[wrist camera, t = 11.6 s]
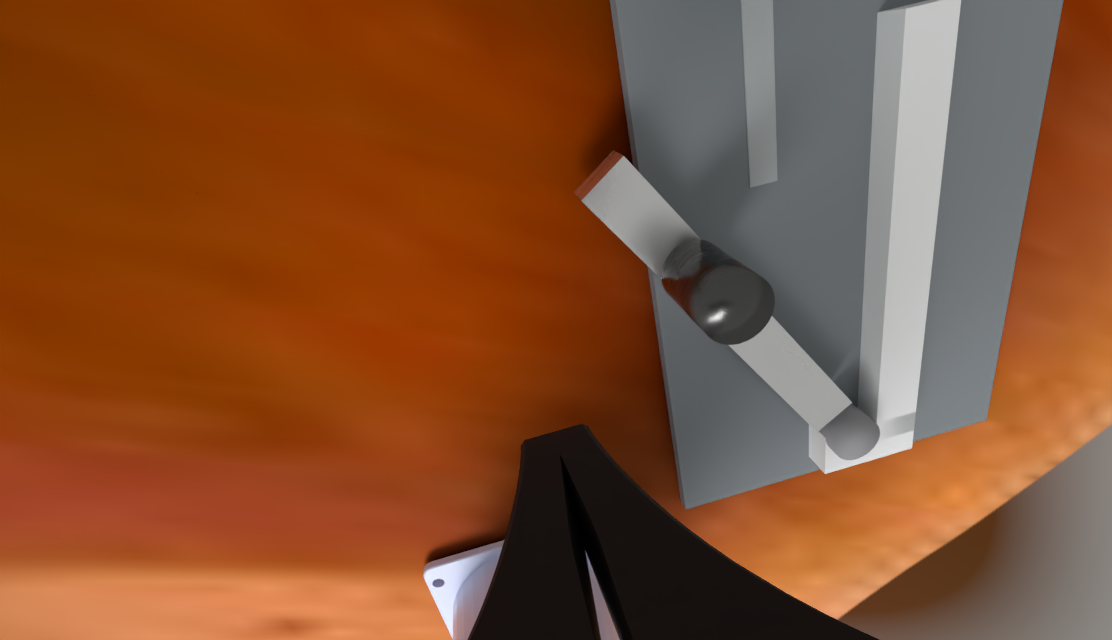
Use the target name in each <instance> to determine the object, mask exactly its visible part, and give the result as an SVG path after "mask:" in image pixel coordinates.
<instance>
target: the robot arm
mask: <svg viewBox="0 0 1112 640" xmlns="http://www.w3.org/2000/svg"><path fill="white" fill-rule="evenodd" d="M423 576H424V579H425V581H426V584H427V586H428V588H429V590H430V592H431V594H432V596H433V598H434V601H435V603H436V605H437V607H438V609H439V611H440V613H441V615H442V618H443V620H444V622H445V624H446V626H447V628H448V630H449V632H450V635H451V637H452V639H453V640H879V639H877V638H874V637H872V636H870V635H868V634H866V633H863V632H861V631H859V630H857V629H855V628H853V627H851V626H848V625H847V624H844V623H842V622H840V621H838V620H836V619H834V618H832V617H830V616H828V615H826V614H824V613H822V612H820V611H819V610H817V609H815V608H813V607H811V606H809V605H807V604H806V603H804V602H802V601H800V600H798V599H796V598H794V597H792V596H791V595H789V594H787V593H785V592H784V591H782V590H780V589H779V588H777V587H775V586H774V585H772V584H770V583H769V582H767V581H765V580H764V579H762V578H760V577H759V576H757V575H755V574H754V573H752V572H750V571H749V570H747V569H745V568H744V567H742V566H740V565H739V564H737V563H736V562H734V561H733V560H731V559H730V558H728V557H727V556H725V555H724V554H722V553H721V552H720V551H718V550H717V549H715V548H714V547H712V546H711V545H709V544H708V543H707V542H705V541H704V540H703V539H701V538H700V537H699V536H697V535H696V534H694V533H693V532H692V531H690V530H689V529H688V528H687V527H685V526H684V525H683V524H682V523H680V522H679V521H678V520H677V519H675V518H674V517H673V516H672V515H671V514H669V513H668V512H667V511H666V510H665V509H664V508H662V507H661V506H660V505H659V504H658V503H657V502H656V501H654V500H653V499H652V498H651V497H650V496H649V495H648V494H647V493H646V492H645V491H644V490H642V489H641V488H640V487H639V486H638V485H637V484H636V483H635V482H634V481H633V480H632V479H631V478H630V477H629V476H628V475H627V474H626V473H625V472H624V471H623V470H622V469H621V467H620V466H619V465H618V464H617V463H616V462H615V461H614V460H613V459H612V458H611V456H610V455H609V454H608V453H607V452H606V451H605V449H604V448H603V447H602V446H601V445H600V443H599V442H598V441H597V439H596V438H595V437H594V435H593V434H592V432H591V431H590V429H589V427H587V426H585V425H583V424H580V425H576V426H573V427H569V428H566V429H562V430H559V431H555V432H552V433H548V434H545V435H541V436H538V437H534V438H531V439H527V440H525V441H524V442H523V444H522V445H521V461H520V470H519V478H518V484H517V490H516V495H515V499H514V504H513V508H512V513H511V518H510V522H509V526H508V529H507V533H506V536H505V540H503V541H499V542H496V543H492V544H489V545H486V546H482V547H479V548H475V549H472V550H469V551H465V552H462V553H459V554H455V555H452V556H448V557H445V558H442V559H438V560H435V561H432V562H429V563H428V564H427V565H425V567H424V573H423ZM436 579H441V580H436Z"/></svg>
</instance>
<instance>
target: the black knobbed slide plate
mask: <svg viewBox="0 0 1112 640" xmlns="http://www.w3.org/2000/svg"><path fill="white" fill-rule="evenodd" d="M573 193H574V194H575V195H576V196H577V197H578V198H579V199H580V200H581V201H582V202H583V203H584V204H585V205H586V206H587V207H588V208H589V209H590V210H591V211H592V212H593V213H594V214H595V215H596V216H597V217H598V218H599V219H600V220H601V221H602V222H603V223H604V224H605V225H606V226H607V227H608V228H609V229H610V230H612V231H613V232H614V233H615V234H616V235H617V236H618V237H619V238H620V239H621V240H622V241H623V242H624V243H625V244H626V245H627V246H628V247H629V248H630V249H631V250H632V251H633V252H634V253H635V254H636V255H637V256H638V257H639V258H640V259H641V260H642V261H643V262H644V263H645V264H646V265H647V266H648V267H649V268H650V269H651V270H652V271H653V272H654V273H655V274H656V275H657V276H658V277H659V278H660V279H661V281H662V285H663V287H664V290H665V291H666V293H667V294H668V295H669V296H670V297H671V298H672V299H673V300H674V301H675V302H676V303H677V304H678V305H679V306H680V307H681V308H682V310H683V311H684V312H685V313H686V314H687V315H688V316H689V317H690V318H691V319H692V320H693V321H694V322H695V323H696V324H697V325H698V326H699V327H700V328H701V329H702V330H703V331H704V333H705V334H706V335H707V336H708V337H709V338H711V339H712V340H713V341H715V342H717V343H720V344H724V345H729V346H730V347H731V348H732V349H733V350H734V351H735V352H736V353H737V354H738V355H739V356H740V357H741V358H742V359H743V360H744V361H745V362H746V363H747V364H748V365H749V366H750V367H751V368H752V369H753V370H754V371H755V372H756V373H757V374H758V375H759V376H760V377H761V378H762V379H763V380H764V381H765V382H766V383H767V384H768V385H770V386H771V387H772V388H773V389H774V390H775V391H776V392H777V393H778V394H779V395H780V396H781V397H782V398H783V399H784V400H785V401H786V402H787V403H788V404H789V405H790V406H791V407H792V408H793V409H794V410H795V411H796V412H797V413H798V414H799V415H800V416H801V417H802V418H803V419H804V420H805V421H806V422H807V423H808V424H809V425H810V426H811V427H812V428H813V429H814V430H815V431H816V432H818V431H819V430H821V429H822V428H823V427H824V426H825V425H826V424H828V423H829V422H830V421H831V420H832V419H834V418H835V417H836V416H837V415H838V414H839V413H841V412H842V411H843V410H844V409H845V408H847V407H848V406H849V405H850V404H851V403H852V402H851V401H850V400H849V398H848V397H847V396H846V395H845V394H844V393H843V392H842V391H841V390H840V389H839V388H838V387H837V386H836V384H835V383H834V382H833V381H832V380H831V379H830V378H829V377H828V376H827V375H826V374H825V373H824V371H823V370H822V369H821V368H820V367H819V366H818V365H817V364H816V363H815V362H814V361H813V360H812V359H811V357H810V356H809V355H808V354H807V353H806V352H805V351H804V350H803V349H802V348H801V347H800V346H799V344H798V343H797V342H796V341H795V340H794V339H793V338H792V337H791V336H790V335H789V334H788V333H787V332H786V330H785V329H784V328H783V327H782V326H781V325H780V324H779V323H778V322H777V321H776V320H775V319H774V317H773V316H772V314H773V311H774V306H775V296H774V292H773V289H772V287H771V285H770V284H769V283H768V281H767V280H765V279H764V278H763V277H761V276H760V275H758V274H757V273H755V272H754V271H752V270H751V269H749V268H748V267H746V266H745V265H743V264H742V263H740V262H739V261H737V260H736V259H735V258H733V257H732V256H730V255H729V254H727V253H726V252H724V251H723V250H721V249H720V248H718V247H717V246H715V245H714V244H712V243H710V242H708V241H705V240H701V239H700V238H699V237H698V235H697V234H696V233H695V232H694V231H693V230H692V229H691V228H690V227H689V226H688V225H687V224H686V222H685V221H684V220H683V219H682V218H681V217H680V216H679V215H678V214H677V213H676V212H675V211H674V210H673V208H672V207H671V206H670V205H669V204H668V203H667V202H666V201H665V200H664V199H663V198H662V197H661V195H660V194H659V193H658V192H657V191H656V190H655V189H654V188H653V187H652V186H651V185H650V184H649V183H648V181H647V180H646V179H645V178H644V177H643V176H642V175H641V174H640V173H639V172H638V171H637V170H636V168H635V167H634V166H633V165H632V164H631V163H630V162H629V161H628V160H627V159H626V158H625V157H624V156H623V155H621V154H619V153H617V152H615V151H612V152H611V153H610V154H609V155H608V156H607V157H606V158H605V159H604V160H603V161H602V162H601V164H600V165H599V166H598V167H597V168H596V169H595V170H594V171H593V172H592V173H591V174H590V175H589V176H588V177H587V179H586V180H585V181H584V182H583V183H582V184H581V185H580V186H579V187H578V188H577V189H576V190H575V191H574V192H573Z"/></svg>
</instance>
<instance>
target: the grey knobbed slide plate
mask: <svg viewBox="0 0 1112 640" xmlns="http://www.w3.org/2000/svg"><path fill="white" fill-rule="evenodd" d="M1062 5H1063V0H610V6H611V13H612V20H613V27H614V34H615V41H616V49H617V56H618V63H619V70H620V77H621V84H622V91H623V98H624V105H625V112H626V119H627V126H628V133H629V140H630V147H631V154H632V161H633V166H634V167H635V168H636V170H637V171H638V172H639V173H640V174H641V175H642V176H643V177H644V178H645V179H646V180H647V181H648V183H649V184H650V185H651V186H652V187H653V188H654V189H655V190H656V191H657V192H658V193H659V194H660V195H661V197H662V198H663V199H664V200H665V201H666V202H667V203H668V204H669V205H670V206H671V207H672V208H673V210H674V211H675V212H676V213H677V214H678V215H679V216H680V217H681V218H682V219H683V220H684V221H685V222H686V224H687V225H688V226H689V227H690V228H691V229H692V230H693V231H694V232H695V233H696V234H697V235H698V237H699V238H700V239H701V240H705V241H708V242H710V243H712V244H714V245H715V246H717V247H718V248H720V249H721V250H723V251H724V252H726V253H727V254H729V255H730V256H732V257H733V258H735V259H736V260H737V261H739V262H740V263H742V264H743V265H745V266H746V267H748V268H749V269H751V270H752V271H754V272H755V273H757V274H758V275H760V276H761V277H763V278H764V279H765V280H767V281H768V283H769V284H770V285H771V287H772V289H773V292H774V296H775V306H774V311H773V314H772V316H773V317H774V319H775V320H776V321H777V322H778V323H779V324H780V325H781V326H782V327H783V328H784V329H785V330H786V332H787V333H788V334H789V335H790V336H791V337H792V338H793V339H794V340H795V341H796V342H797V343H798V344H799V346H800V347H801V348H802V349H803V350H804V351H805V352H806V353H807V354H808V355H809V356H810V357H811V359H812V360H813V361H814V362H815V363H816V364H817V365H818V366H819V367H820V368H821V369H822V370H823V371H824V373H825V374H826V375H827V376H828V377H829V378H830V379H831V380H832V381H833V382H834V383H835V384H836V386H837V387H838V388H839V389H840V390H841V391H842V392H843V393H844V394H845V395H846V396H847V397H848V398H849V400H850V401H851V402H852V403H851V404H850V405H849V406H848V407H847V408H845V409H844V410H843V411H842V412H841V413H839V414H838V415H837V416H836V417H835V418H834V419H832V420H831V421H830V422H829V423H828V424H826V425H825V426H824V427H823V428H822V429H821V430H819V431H818V432H816V431H815V430H814V429H813V428H812V427H811V426H810V425H809V424H808V423H807V422H806V421H805V420H804V419H803V418H802V417H801V416H800V415H799V414H798V413H797V412H796V411H795V410H794V409H793V408H792V407H791V406H790V405H789V404H788V403H787V402H786V401H785V400H784V399H783V398H782V397H781V396H780V395H779V394H778V393H777V392H776V391H775V390H774V389H773V388H772V387H771V386H770V385H768V384H767V383H766V382H765V381H764V380H763V379H762V378H761V377H760V376H759V375H758V374H757V373H756V372H755V371H754V370H753V369H752V368H751V367H750V366H749V365H748V364H747V363H746V362H745V361H744V360H743V359H742V358H741V357H740V356H739V355H738V354H737V353H736V352H735V351H734V350H733V349H732V348H731V347H730V346H729V345H724V344H720V343H717V342H715V341H713V340H712V339H711V338H709V337H708V336H707V335H706V334H705V333H704V331H703V330H702V329H701V328H700V327H699V326H698V325H697V324H696V323H695V322H694V321H693V320H692V319H691V318H690V317H689V316H688V315H687V314H686V313H685V312H684V311H683V310H682V308H681V307H680V306H679V305H678V304H677V303H676V302H675V301H674V300H673V299H672V298H671V297H670V296H669V295H668V294H667V293H666V291H665V290H664V287H663V285H662V281H661V279H660V278H659V277H658V276H657V275H656V274H655V273H654V272H653V271H652V270H651V269H650V268H649V267H648V274H649V281H650V288H651V295H652V302H653V309H654V316H655V323H656V330H657V337H658V344H659V351H660V358H661V365H662V372H663V379H664V386H665V393H666V400H667V407H668V414H669V421H670V428H671V435H672V442H673V449H674V456H675V463H676V470H677V477H678V484H679V491H680V499H681V502H682V504H683V505H684V507H685V509H689V508H693V507H696V506H699V505H703V504H706V503H709V502H713V501H716V500H720V499H723V498H726V497H730V496H733V495H736V494H740V493H743V492H746V491H750V490H753V489H756V488H760V487H763V486H767V485H770V484H773V483H777V482H780V481H783V480H787V479H790V478H793V477H797V476H800V475H803V474H807V473H810V472H814V471H817V470H820V469H821V470H822V471H823V472H824V473H825V474H827V473H830V472H834V471H837V470H840V469H844V468H847V467H850V466H854V465H857V464H860V463H864V462H867V461H870V460H874V459H877V458H880V457H884V456H887V455H890V454H894V453H897V452H901V451H904V450H907V449H911V448H912V443H913V442H914V441H918V440H921V439H924V438H928V437H931V436H934V435H938V434H941V433H945V432H948V431H951V430H955V429H958V428H961V427H965V426H968V425H971V424H975V423H978V422H981V421H985V420H986V419H987V414H988V409H989V403H990V398H991V392H992V387H993V381H994V376H995V370H996V365H997V359H998V354H999V349H1000V343H1001V338H1002V332H1003V327H1004V321H1005V316H1006V310H1007V305H1008V299H1009V294H1010V289H1011V283H1012V278H1013V272H1014V267H1015V261H1016V256H1017V250H1018V245H1019V240H1020V234H1021V229H1022V223H1023V218H1024V212H1025V207H1026V201H1027V196H1028V190H1029V185H1030V180H1031V174H1032V169H1033V163H1034V158H1035V152H1036V147H1037V141H1038V136H1039V130H1040V125H1041V120H1042V114H1043V109H1044V103H1045V98H1046V92H1047V87H1048V81H1049V76H1050V70H1051V65H1052V60H1053V54H1054V49H1055V43H1056V38H1057V32H1058V27H1059V21H1060V16H1061V10H1062Z"/></svg>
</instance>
